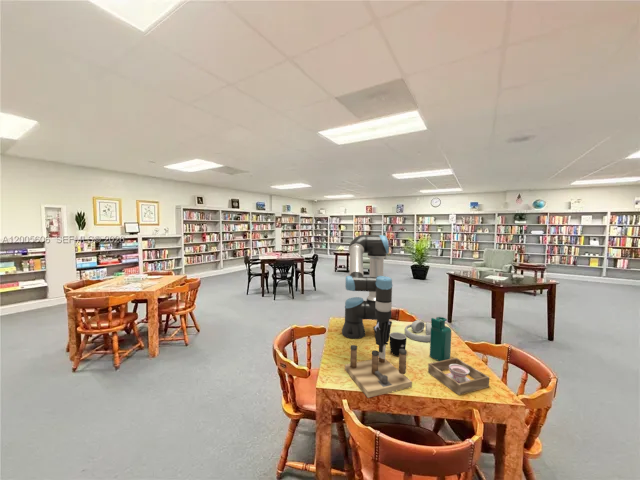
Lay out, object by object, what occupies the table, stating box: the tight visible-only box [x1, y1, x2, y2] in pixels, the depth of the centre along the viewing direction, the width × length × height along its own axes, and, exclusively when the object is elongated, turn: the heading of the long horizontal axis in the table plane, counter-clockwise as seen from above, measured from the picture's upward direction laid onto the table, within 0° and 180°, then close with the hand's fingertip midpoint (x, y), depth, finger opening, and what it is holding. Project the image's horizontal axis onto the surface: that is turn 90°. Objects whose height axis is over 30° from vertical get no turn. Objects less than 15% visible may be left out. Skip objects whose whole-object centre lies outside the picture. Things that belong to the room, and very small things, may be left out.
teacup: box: [445, 364, 471, 383], centre depth 118 cm, size 12×12×6 cm
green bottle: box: [429, 316, 452, 362], centre depth 138 cm, size 10×8×22 cm
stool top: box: [344, 344, 413, 399], centre depth 120 cm, size 22×22×12 cm
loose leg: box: [398, 348, 408, 375], centre depth 115 cm, size 3×3×10 cm
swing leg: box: [371, 350, 388, 384], centre depth 116 cm, size 11×3×10 cm, turn 20°
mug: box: [389, 331, 407, 357], centre depth 144 cm, size 12×9×10 cm
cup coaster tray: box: [427, 357, 490, 396], centre depth 120 cm, size 18×18×4 cm
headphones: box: [404, 319, 432, 343], centre depth 167 cm, size 18×8×20 cm
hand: (381, 357), depth 124 cm, fingers closed
